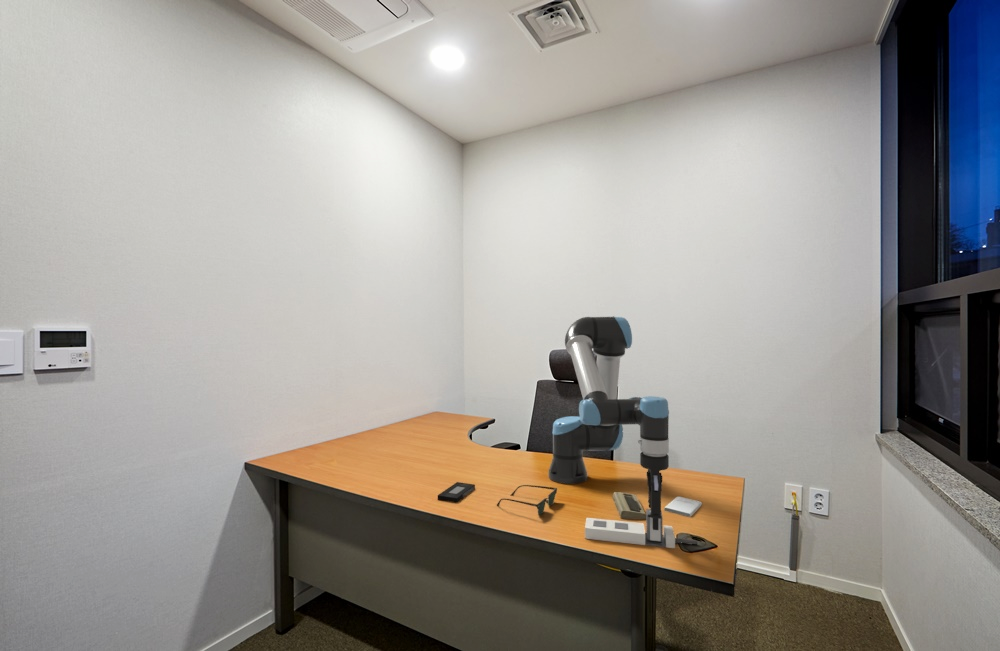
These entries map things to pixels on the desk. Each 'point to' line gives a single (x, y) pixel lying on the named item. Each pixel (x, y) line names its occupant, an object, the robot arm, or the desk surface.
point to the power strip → (628, 533)
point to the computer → (628, 506)
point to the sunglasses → (540, 505)
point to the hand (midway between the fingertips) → (654, 536)
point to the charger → (648, 511)
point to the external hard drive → (683, 506)
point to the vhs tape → (456, 492)
